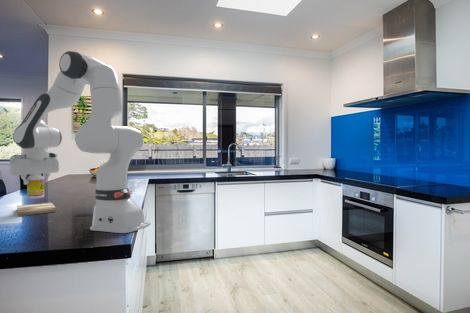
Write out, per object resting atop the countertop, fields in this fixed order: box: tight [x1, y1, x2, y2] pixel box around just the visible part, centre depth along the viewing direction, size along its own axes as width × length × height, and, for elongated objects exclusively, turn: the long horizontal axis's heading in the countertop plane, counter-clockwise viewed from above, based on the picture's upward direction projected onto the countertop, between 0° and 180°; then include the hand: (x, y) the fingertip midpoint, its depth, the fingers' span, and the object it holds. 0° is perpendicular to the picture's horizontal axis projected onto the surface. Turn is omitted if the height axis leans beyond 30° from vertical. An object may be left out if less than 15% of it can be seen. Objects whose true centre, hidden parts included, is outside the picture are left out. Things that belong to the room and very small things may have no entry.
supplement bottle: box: [26, 171, 45, 200], centre depth 132 cm, size 7×7×13 cm
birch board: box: [16, 202, 57, 217], centre depth 132 cm, size 16×14×2 cm
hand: (35, 183), depth 132 cm, fingers closed on supplement bottle, 7 cm apart
